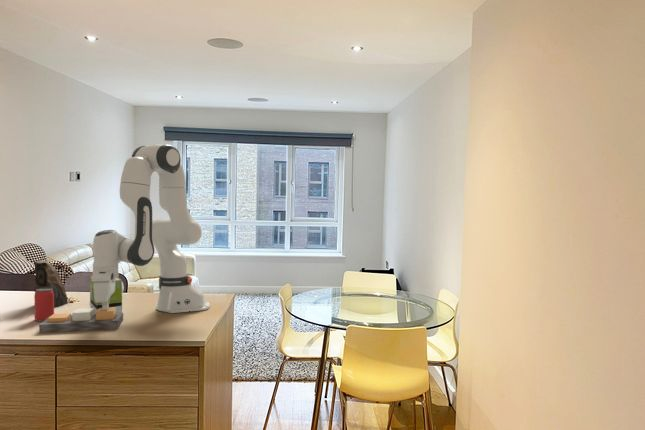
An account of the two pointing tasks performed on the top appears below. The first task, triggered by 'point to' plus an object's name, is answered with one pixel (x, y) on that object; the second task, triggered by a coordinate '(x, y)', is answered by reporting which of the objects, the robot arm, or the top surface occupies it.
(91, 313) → the key middle
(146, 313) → the top surface
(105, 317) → the key
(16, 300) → the top surface
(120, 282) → the tea box
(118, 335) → the top surface
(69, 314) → the key
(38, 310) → the beer can
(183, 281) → the robot arm
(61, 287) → the owl
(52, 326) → the dark grey tray
